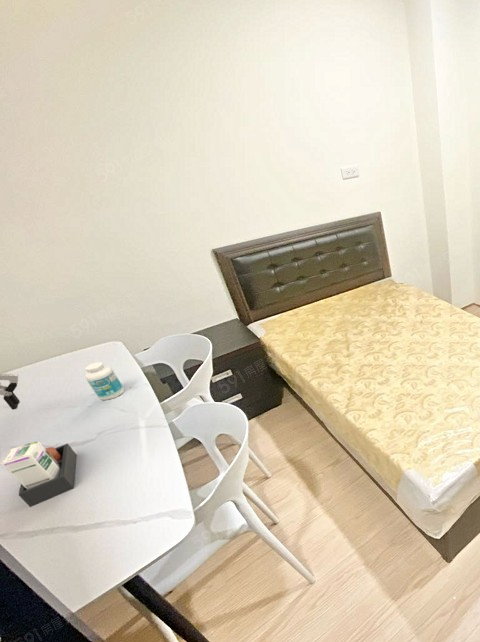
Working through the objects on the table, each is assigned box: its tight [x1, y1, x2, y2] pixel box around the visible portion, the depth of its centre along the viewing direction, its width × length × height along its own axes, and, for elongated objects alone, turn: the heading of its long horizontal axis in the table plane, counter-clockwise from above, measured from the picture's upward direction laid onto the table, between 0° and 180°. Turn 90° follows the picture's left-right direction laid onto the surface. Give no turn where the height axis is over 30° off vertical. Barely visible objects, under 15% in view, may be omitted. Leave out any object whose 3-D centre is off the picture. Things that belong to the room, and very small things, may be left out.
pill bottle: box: [84, 361, 125, 401], centre depth 147 cm, size 8×7×14 cm
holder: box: [18, 443, 78, 508], centre depth 114 cm, size 9×17×6 cm, turn 41°
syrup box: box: [0, 441, 61, 490], centre depth 109 cm, size 6×6×14 cm
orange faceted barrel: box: [44, 446, 62, 462], centre depth 116 cm, size 6×6×7 cm
